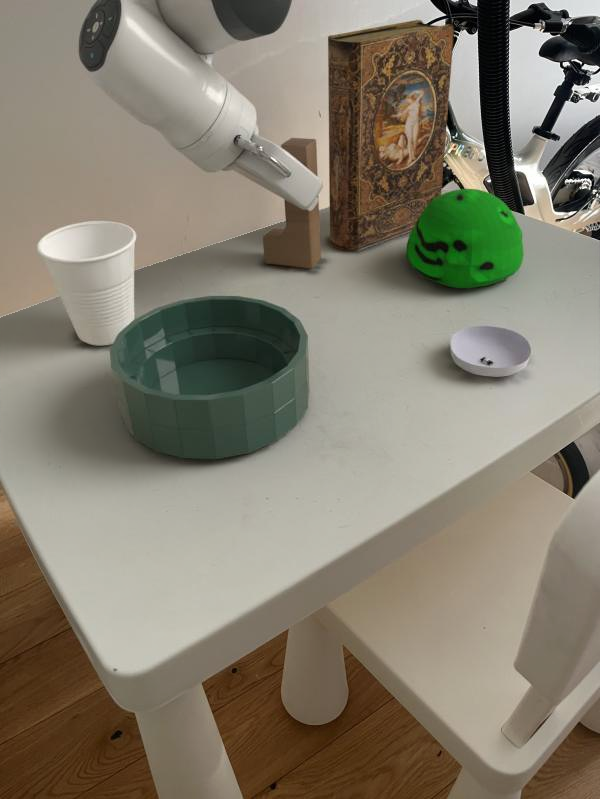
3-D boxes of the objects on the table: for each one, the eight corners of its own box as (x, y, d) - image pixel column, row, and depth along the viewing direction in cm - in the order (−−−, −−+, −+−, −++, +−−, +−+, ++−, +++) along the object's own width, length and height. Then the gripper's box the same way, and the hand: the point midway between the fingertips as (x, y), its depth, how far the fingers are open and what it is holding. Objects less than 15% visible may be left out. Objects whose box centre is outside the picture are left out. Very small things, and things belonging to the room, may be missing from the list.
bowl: (97, 391, 72) (82, 329, 68) (252, 338, 79) (247, 279, 75) (170, 493, 60) (157, 426, 56) (345, 419, 67) (345, 355, 63)
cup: (109, 302, 87) (90, 213, 80) (170, 325, 82) (156, 232, 75) (41, 339, 80) (15, 246, 74) (103, 367, 75) (81, 269, 69)
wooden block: (321, 259, 94) (316, 138, 86) (312, 269, 91) (306, 145, 83) (274, 254, 96) (265, 136, 88) (264, 263, 94) (254, 143, 85)
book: (350, 254, 95) (352, 43, 81) (323, 241, 99) (320, 37, 84) (438, 221, 103) (455, 23, 88) (411, 210, 107) (422, 18, 92)
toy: (386, 262, 93) (390, 185, 87) (468, 238, 98) (476, 164, 92) (455, 306, 83) (464, 222, 78) (542, 277, 89) (556, 196, 83)
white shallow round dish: (489, 394, 70) (492, 378, 68) (431, 358, 75) (432, 342, 74) (546, 366, 73) (549, 350, 72) (486, 333, 78) (488, 317, 77)
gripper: (282, 124, 71) (363, 199, 81) (193, 85, 86) (270, 153, 95) (245, 179, 72) (330, 247, 82) (163, 132, 86) (243, 194, 96)
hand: (297, 196), depth 89 cm, fingers open, 5 cm apart
